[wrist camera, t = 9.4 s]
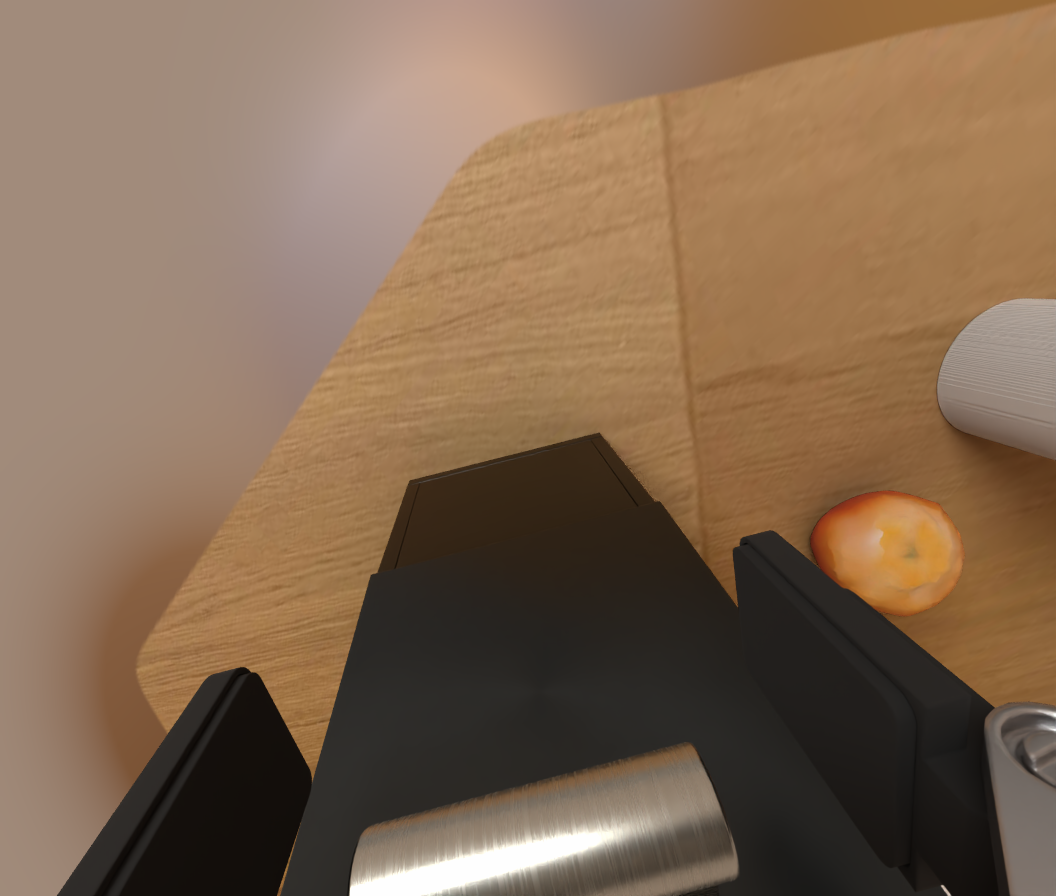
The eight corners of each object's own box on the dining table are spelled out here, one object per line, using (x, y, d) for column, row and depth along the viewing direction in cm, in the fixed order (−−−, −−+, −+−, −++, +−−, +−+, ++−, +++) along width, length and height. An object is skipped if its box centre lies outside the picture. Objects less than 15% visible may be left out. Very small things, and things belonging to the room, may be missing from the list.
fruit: (835, 621, 37) (894, 648, 29) (773, 527, 38) (813, 529, 30) (936, 569, 36) (1024, 582, 28) (868, 475, 38) (934, 464, 30)
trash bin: (634, 614, 36) (695, 743, 26) (469, 657, 36) (466, 803, 26) (599, 432, 32) (657, 503, 21) (409, 480, 31) (375, 575, 21)
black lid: (1051, 1071, 7) (1169, 871, 5) (193, 1310, 7) (-89, 1215, 5) (662, 515, 21) (647, 400, 19) (376, 588, 21) (328, 480, 19)
